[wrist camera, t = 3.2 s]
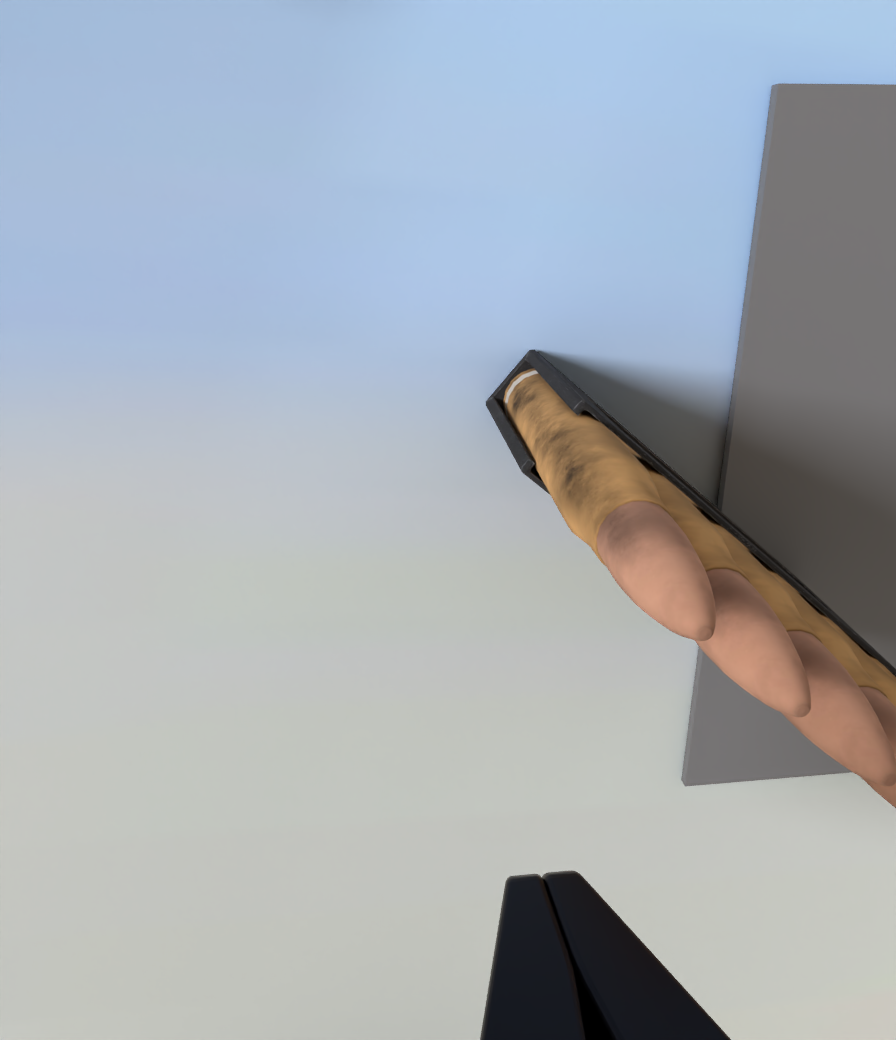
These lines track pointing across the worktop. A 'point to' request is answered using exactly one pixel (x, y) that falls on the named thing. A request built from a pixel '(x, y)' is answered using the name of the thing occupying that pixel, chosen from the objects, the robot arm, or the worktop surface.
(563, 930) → the robot arm
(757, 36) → the worktop surface
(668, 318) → the worktop surface
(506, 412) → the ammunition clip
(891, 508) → the rubber mat
